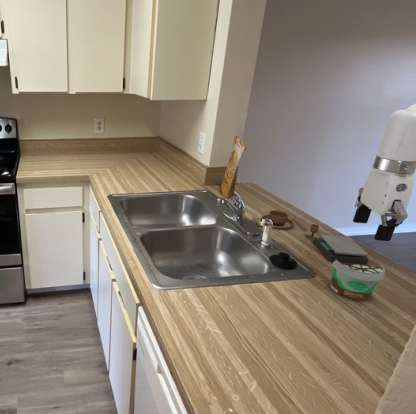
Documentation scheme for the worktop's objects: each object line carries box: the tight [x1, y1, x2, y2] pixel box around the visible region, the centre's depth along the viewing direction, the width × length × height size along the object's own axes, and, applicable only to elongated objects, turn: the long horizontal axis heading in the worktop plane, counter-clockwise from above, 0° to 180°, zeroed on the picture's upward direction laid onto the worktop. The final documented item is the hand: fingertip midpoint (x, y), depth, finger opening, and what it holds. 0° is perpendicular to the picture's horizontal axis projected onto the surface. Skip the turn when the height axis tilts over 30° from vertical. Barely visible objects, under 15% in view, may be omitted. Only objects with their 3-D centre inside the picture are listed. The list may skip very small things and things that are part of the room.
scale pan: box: [319, 234, 369, 258], centre depth 113 cm, size 10×12×1 cm
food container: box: [329, 260, 386, 302], centre depth 91 cm, size 12×6×10 cm, turn 76°
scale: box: [312, 237, 369, 266], centre depth 114 cm, size 11×13×3 cm
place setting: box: [254, 210, 320, 240], centre depth 131 cm, size 18×20×6 cm
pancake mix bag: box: [220, 135, 247, 199], centre depth 163 cm, size 7×19×28 cm, turn 165°
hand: (370, 230), depth 83 cm, fingers open, 9 cm apart
